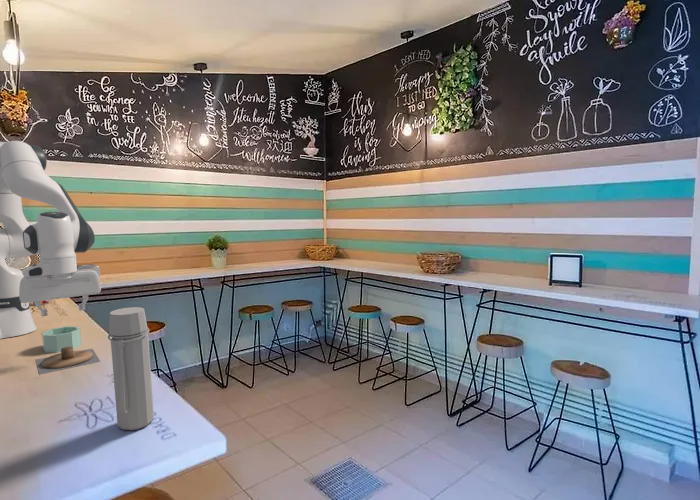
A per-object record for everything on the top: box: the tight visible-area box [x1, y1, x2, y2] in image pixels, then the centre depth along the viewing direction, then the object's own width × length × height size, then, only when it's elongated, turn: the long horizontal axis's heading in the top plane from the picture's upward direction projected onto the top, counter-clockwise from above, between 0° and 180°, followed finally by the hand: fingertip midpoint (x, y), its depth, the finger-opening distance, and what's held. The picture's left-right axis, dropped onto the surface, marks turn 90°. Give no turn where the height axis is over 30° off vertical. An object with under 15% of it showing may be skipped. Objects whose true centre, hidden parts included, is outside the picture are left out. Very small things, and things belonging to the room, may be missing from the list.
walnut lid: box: [41, 347, 93, 369], centre depth 130 cm, size 13×13×4 cm
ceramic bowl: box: [41, 325, 82, 353], centre depth 143 cm, size 10×10×6 cm
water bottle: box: [107, 306, 155, 431], centre depth 91 cm, size 9×8×25 cm
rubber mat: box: [35, 348, 101, 375], centre depth 131 cm, size 15×15×1 cm
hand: (63, 312), depth 129 cm, fingers open, 8 cm apart
